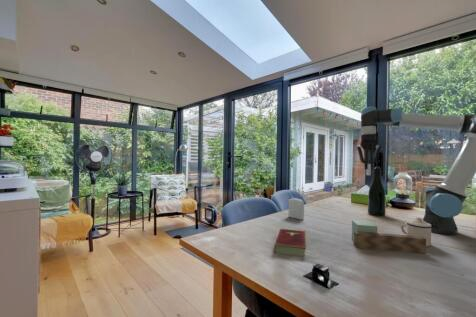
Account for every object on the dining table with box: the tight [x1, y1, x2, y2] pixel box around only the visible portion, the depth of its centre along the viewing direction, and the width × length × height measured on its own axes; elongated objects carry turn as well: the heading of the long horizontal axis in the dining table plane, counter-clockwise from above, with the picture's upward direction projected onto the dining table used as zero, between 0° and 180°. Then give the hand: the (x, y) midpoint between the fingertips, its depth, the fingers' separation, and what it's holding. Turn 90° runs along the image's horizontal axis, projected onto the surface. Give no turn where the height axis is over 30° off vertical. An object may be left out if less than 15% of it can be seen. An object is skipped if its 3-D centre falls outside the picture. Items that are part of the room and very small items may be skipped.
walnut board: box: [353, 231, 427, 255], centre depth 96 cm, size 26×3×6 cm, turn 78°
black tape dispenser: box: [302, 263, 340, 291], centre depth 71 cm, size 12×7×5 cm, turn 37°
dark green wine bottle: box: [367, 166, 387, 217], centre depth 158 cm, size 10×10×33 cm
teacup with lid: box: [400, 216, 432, 247], centre depth 105 cm, size 12×9×12 cm
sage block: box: [351, 219, 378, 242], centre depth 103 cm, size 8×8×9 cm
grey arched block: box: [288, 197, 305, 221], centre depth 144 cm, size 10×4×12 cm, turn 39°
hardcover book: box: [273, 228, 307, 257], centre depth 99 cm, size 12×21×4 cm, turn 164°
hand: (368, 175), depth 131 cm, fingers closed
